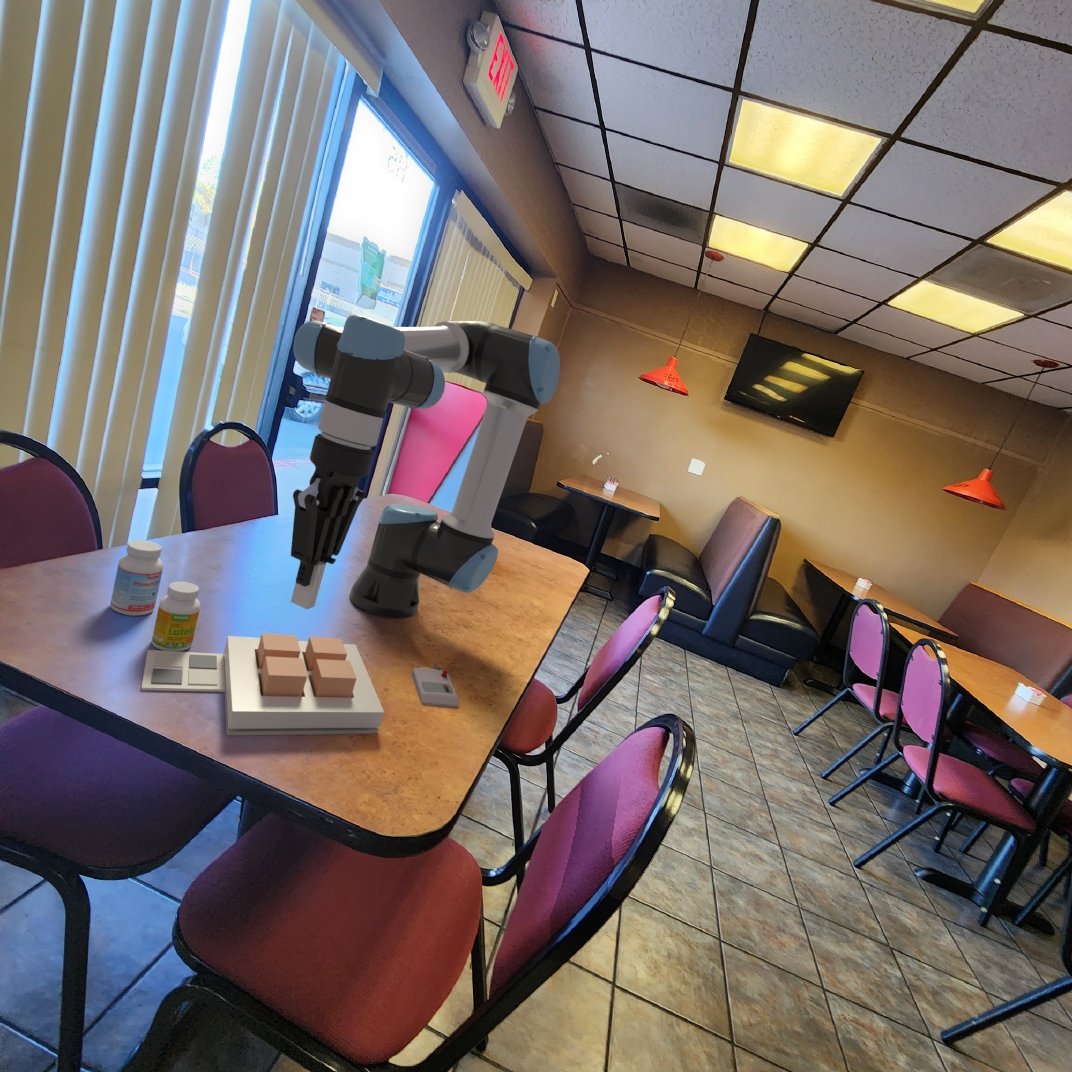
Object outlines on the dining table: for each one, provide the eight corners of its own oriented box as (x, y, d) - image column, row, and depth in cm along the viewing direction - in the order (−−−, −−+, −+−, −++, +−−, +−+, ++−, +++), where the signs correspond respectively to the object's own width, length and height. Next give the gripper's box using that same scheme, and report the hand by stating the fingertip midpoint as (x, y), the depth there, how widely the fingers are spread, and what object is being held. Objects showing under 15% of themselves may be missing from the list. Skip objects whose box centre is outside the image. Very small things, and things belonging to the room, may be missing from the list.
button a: (296, 678, 87) (302, 658, 86) (301, 697, 82) (307, 676, 82) (260, 677, 84) (265, 656, 83) (263, 696, 80) (268, 675, 79)
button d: (335, 657, 96) (341, 638, 95) (341, 673, 92) (347, 654, 91) (304, 655, 93) (309, 636, 93) (308, 671, 89) (314, 652, 89)
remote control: (422, 713, 96) (427, 698, 95) (406, 664, 109) (411, 650, 109) (460, 716, 98) (465, 701, 98) (440, 668, 112) (444, 655, 112)
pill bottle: (132, 620, 93) (145, 555, 90) (100, 606, 93) (112, 541, 91) (163, 610, 98) (176, 548, 96) (132, 597, 99) (144, 535, 97)
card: (222, 656, 91) (223, 652, 91) (224, 692, 83) (225, 688, 83) (147, 652, 86) (148, 648, 86) (141, 690, 78) (141, 686, 78)
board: (350, 662, 102) (355, 644, 101) (377, 733, 86) (384, 712, 85) (222, 656, 91) (227, 635, 91) (226, 735, 75) (232, 711, 74)
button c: (344, 680, 90) (349, 660, 90) (350, 698, 86) (356, 678, 86) (310, 678, 88) (316, 659, 87) (315, 697, 84) (321, 677, 83)
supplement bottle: (162, 655, 86) (175, 596, 85) (144, 638, 89) (156, 581, 87) (198, 648, 91) (211, 592, 89) (180, 633, 94) (192, 578, 92)
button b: (291, 654, 92) (296, 635, 92) (295, 671, 88) (300, 651, 87) (256, 652, 90) (261, 632, 89) (259, 669, 86) (264, 649, 85)
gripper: (350, 433, 83) (309, 584, 88) (288, 428, 70) (245, 605, 75) (395, 450, 81) (352, 603, 86) (341, 448, 69) (293, 627, 73)
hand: (302, 604), depth 80 cm, fingers closed
